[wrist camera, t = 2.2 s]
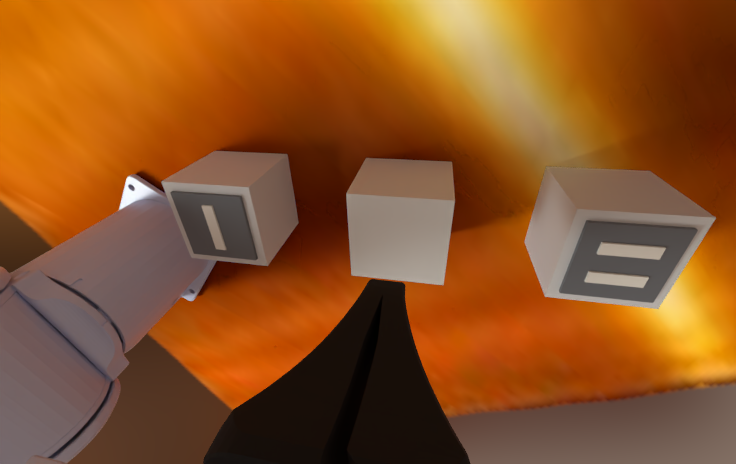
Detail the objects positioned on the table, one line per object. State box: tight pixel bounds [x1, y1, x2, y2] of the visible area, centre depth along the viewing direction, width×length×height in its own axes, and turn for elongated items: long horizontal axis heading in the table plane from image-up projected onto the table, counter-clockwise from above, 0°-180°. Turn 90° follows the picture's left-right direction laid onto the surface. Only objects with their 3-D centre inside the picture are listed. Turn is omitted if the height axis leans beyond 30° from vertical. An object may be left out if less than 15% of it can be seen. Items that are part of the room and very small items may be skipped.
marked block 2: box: [525, 166, 716, 309], centre depth 16 cm, size 5×5×5 cm
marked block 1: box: [161, 151, 299, 266], centre depth 20 cm, size 5×5×5 cm
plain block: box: [346, 158, 455, 285], centre depth 18 cm, size 5×5×5 cm
